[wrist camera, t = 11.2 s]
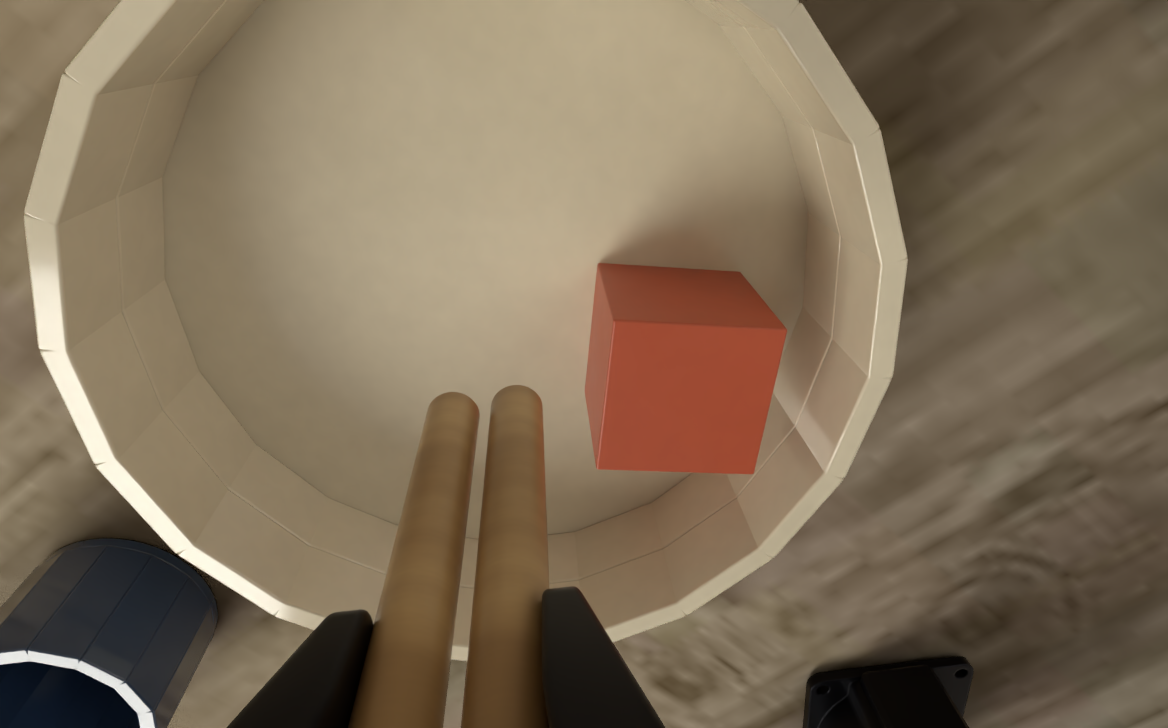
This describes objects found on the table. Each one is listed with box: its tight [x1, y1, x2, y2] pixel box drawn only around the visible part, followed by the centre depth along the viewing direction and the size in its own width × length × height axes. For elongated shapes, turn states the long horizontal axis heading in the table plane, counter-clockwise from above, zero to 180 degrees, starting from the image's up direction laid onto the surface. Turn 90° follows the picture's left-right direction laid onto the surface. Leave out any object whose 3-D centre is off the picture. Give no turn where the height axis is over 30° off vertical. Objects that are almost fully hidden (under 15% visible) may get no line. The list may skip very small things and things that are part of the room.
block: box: [585, 263, 787, 474], centre depth 18 cm, size 4×4×4 cm
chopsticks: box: [348, 385, 549, 728], centre depth 7 cm, size 1×2×11 cm, turn 93°
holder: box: [0, 538, 218, 728], centre depth 22 cm, size 6×6×4 cm
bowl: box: [24, 0, 908, 661], centre depth 18 cm, size 18×18×5 cm
